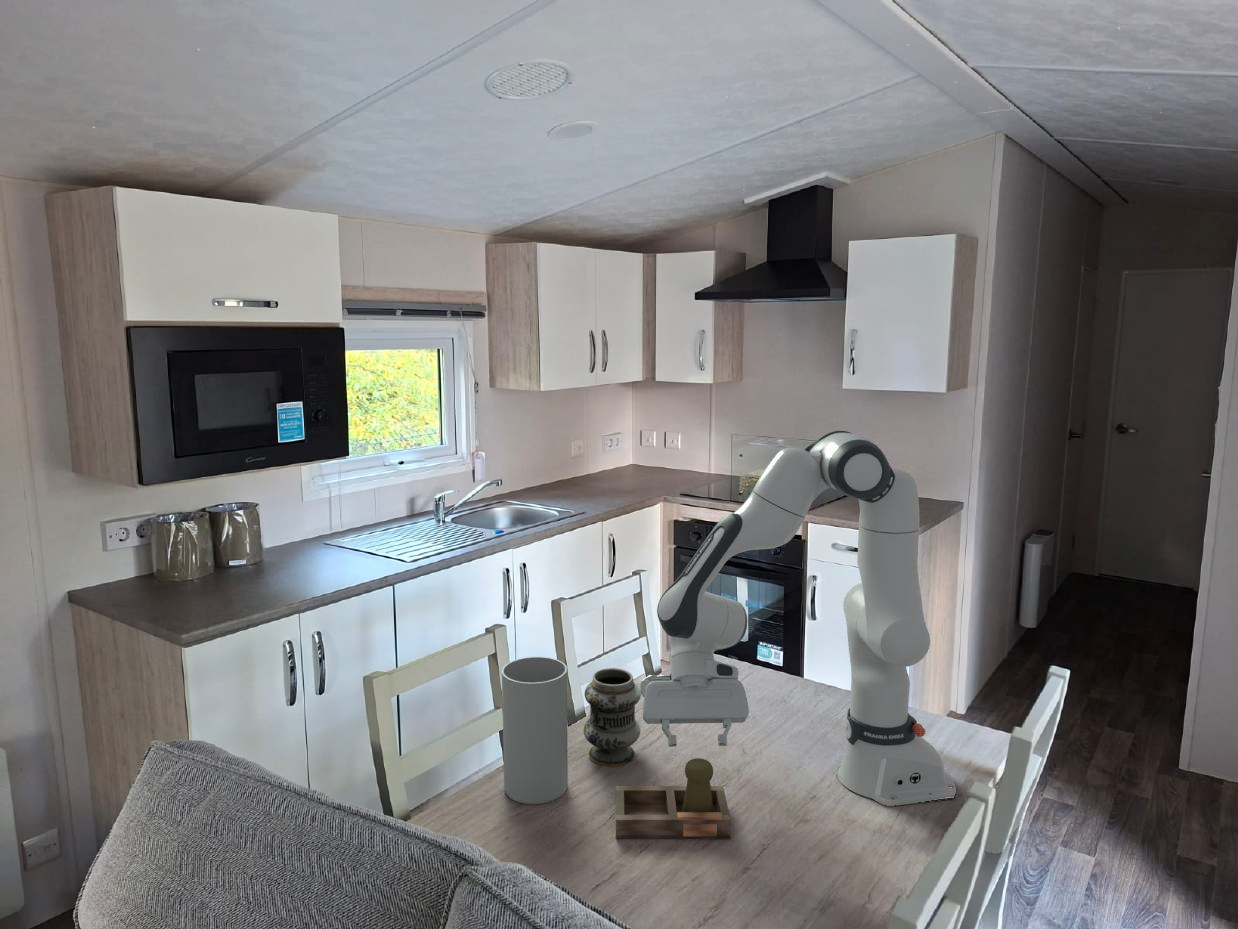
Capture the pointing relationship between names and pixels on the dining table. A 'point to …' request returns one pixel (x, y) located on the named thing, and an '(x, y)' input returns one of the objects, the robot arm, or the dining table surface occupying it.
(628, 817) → the spice rack
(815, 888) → the dining table surface
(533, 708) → the cylinder vase
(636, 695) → the apothecary jar
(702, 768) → the olive round-topped post
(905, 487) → the robot arm
